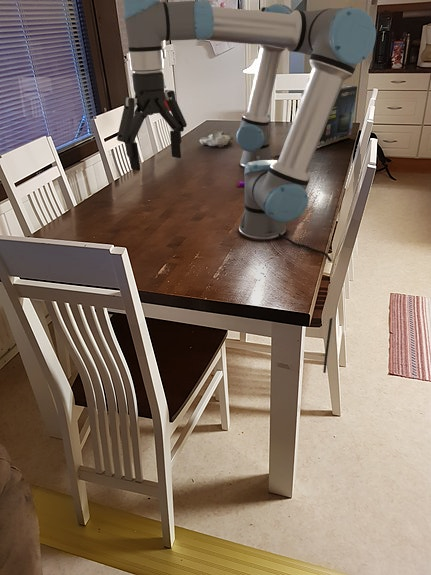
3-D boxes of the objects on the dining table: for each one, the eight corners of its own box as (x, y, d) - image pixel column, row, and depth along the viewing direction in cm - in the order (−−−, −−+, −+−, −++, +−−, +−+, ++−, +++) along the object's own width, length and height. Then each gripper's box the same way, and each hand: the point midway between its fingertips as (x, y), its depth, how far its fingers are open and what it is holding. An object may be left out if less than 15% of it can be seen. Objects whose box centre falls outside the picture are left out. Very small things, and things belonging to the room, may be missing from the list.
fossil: (223, 141, 238) (204, 123, 241) (212, 159, 245) (194, 141, 248) (240, 140, 252) (222, 123, 255) (230, 156, 258) (212, 139, 262)
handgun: (237, 185, 191) (237, 180, 190) (255, 183, 192) (255, 178, 191) (249, 201, 173) (249, 197, 172) (269, 199, 174) (269, 194, 174)
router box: (314, 151, 231) (318, 94, 217) (296, 148, 237) (299, 92, 224) (352, 138, 251) (358, 85, 238) (335, 135, 258) (340, 83, 245)
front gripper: (176, 65, 115) (182, 150, 126) (92, 76, 100) (107, 172, 111) (197, 66, 111) (201, 154, 122) (112, 78, 96) (126, 178, 107)
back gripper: (150, 46, 196) (155, 102, 208) (142, 50, 178) (149, 111, 189) (167, 46, 196) (172, 102, 208) (161, 49, 178) (167, 111, 189)
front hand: (156, 163), depth 117 cm, fingers open, 13 cm apart
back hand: (161, 106), depth 199 cm, fingers closed on tin, 9 cm apart
